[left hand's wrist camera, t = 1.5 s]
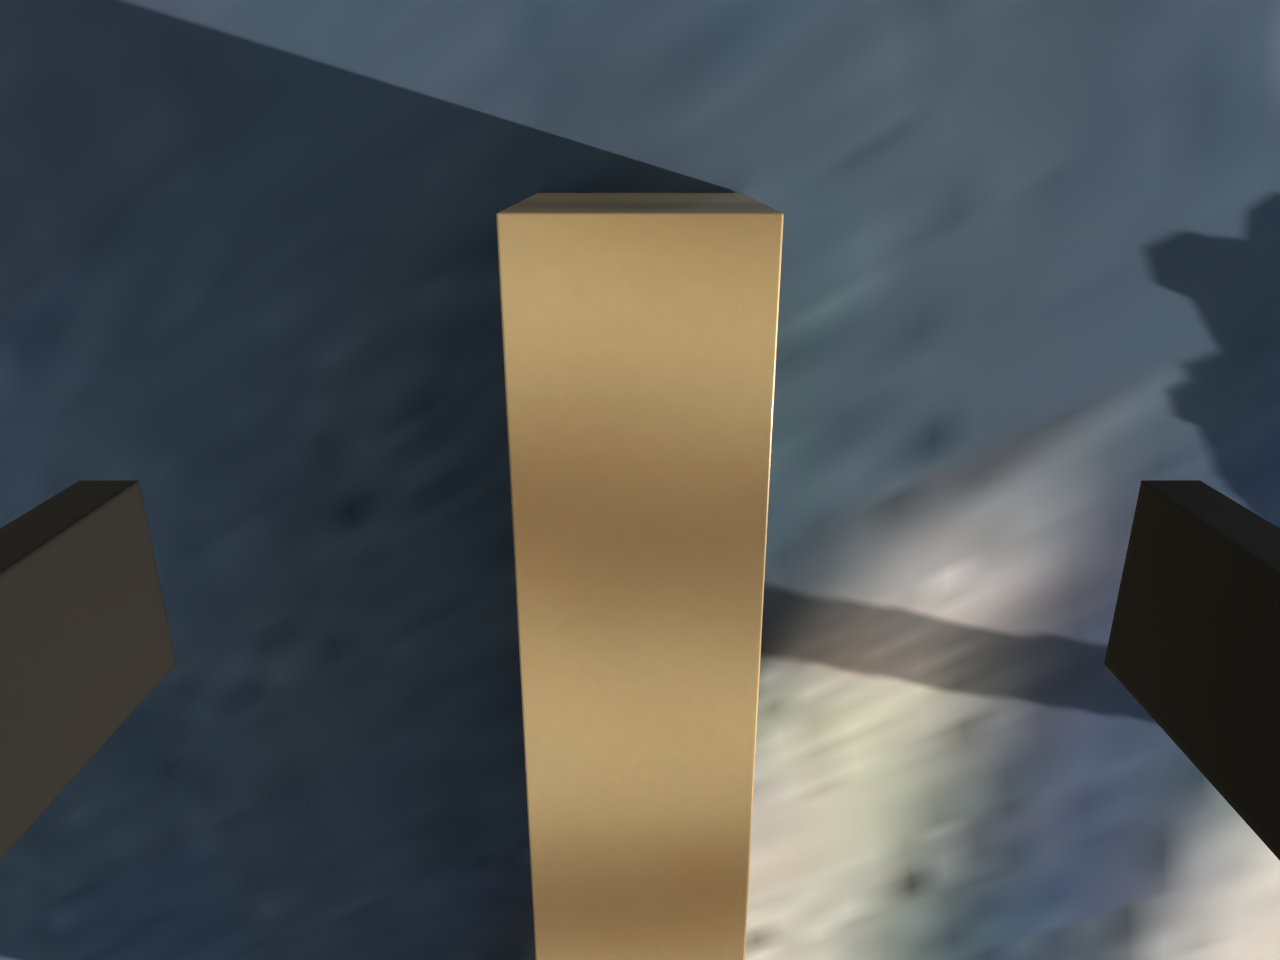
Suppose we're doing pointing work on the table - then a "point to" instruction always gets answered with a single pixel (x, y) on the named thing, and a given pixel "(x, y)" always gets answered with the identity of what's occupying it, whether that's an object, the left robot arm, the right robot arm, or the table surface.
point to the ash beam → (639, 557)
